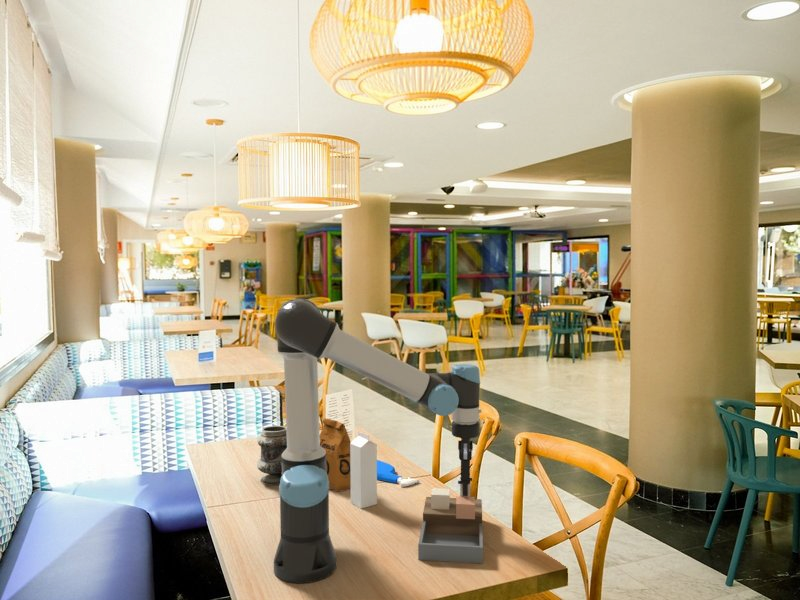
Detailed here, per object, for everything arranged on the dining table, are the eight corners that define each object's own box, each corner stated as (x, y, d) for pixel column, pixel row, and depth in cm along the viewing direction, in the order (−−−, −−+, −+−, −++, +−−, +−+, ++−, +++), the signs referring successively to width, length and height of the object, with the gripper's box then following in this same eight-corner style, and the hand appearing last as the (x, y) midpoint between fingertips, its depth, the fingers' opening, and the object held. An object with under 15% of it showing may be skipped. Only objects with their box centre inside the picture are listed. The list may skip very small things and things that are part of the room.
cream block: (449, 509, 167) (449, 495, 167) (431, 508, 168) (431, 494, 167) (449, 502, 172) (449, 488, 172) (432, 501, 173) (432, 488, 172)
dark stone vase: (290, 472, 216) (289, 422, 215) (295, 483, 204) (294, 431, 203) (255, 476, 212) (255, 425, 211) (259, 488, 200) (258, 434, 199)
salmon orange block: (475, 519, 161) (475, 504, 160) (456, 518, 161) (456, 503, 161) (474, 511, 166) (474, 497, 165) (456, 510, 166) (456, 496, 166)
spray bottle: (353, 464, 216) (399, 483, 198) (376, 457, 224) (422, 475, 206) (353, 472, 217) (398, 492, 198) (376, 465, 224) (422, 484, 206)
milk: (361, 509, 183) (360, 437, 181) (350, 502, 188) (349, 432, 186) (377, 504, 186) (376, 433, 185) (366, 498, 191) (366, 429, 190)
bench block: (482, 538, 163) (482, 516, 163) (422, 535, 165) (422, 513, 164) (481, 519, 175) (481, 499, 174) (426, 517, 177) (426, 496, 176)
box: (482, 563, 149) (483, 547, 149) (418, 559, 151) (418, 544, 151) (482, 538, 163) (482, 523, 163) (422, 535, 165) (422, 520, 165)
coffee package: (333, 494, 194) (332, 427, 193) (313, 483, 204) (312, 419, 203) (358, 487, 201) (358, 422, 199) (338, 477, 210) (337, 415, 209)
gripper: (479, 427, 159) (479, 515, 160) (478, 415, 171) (478, 497, 173) (451, 427, 159) (450, 514, 161) (452, 415, 172) (452, 496, 174)
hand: (465, 505), depth 167 cm, fingers closed
